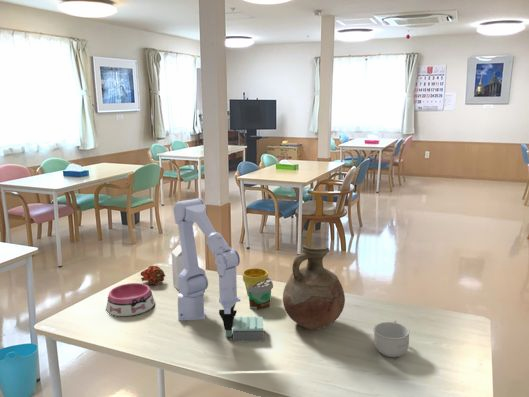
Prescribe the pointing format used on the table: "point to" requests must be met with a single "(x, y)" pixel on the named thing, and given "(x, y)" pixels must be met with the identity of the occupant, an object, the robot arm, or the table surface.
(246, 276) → the plant pot
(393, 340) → the teacup
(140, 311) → the dog bowl
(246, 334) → the tub
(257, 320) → the teal ridged block
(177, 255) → the milk carton
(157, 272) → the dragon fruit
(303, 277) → the jug
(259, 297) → the food container
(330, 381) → the table surface
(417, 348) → the table surface
